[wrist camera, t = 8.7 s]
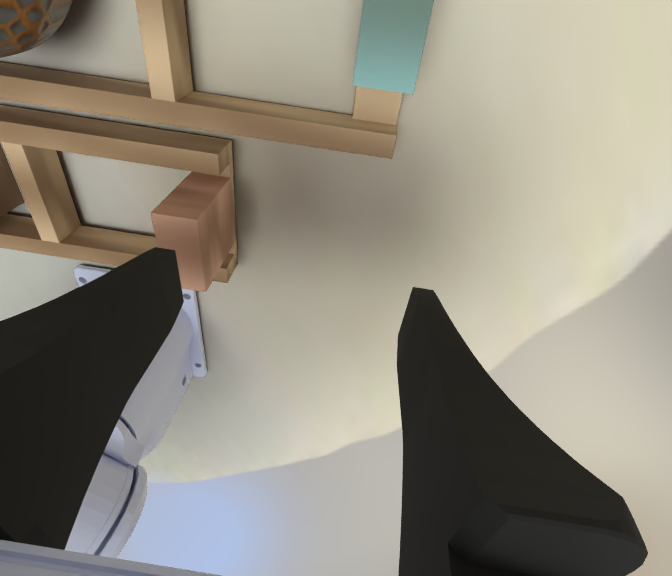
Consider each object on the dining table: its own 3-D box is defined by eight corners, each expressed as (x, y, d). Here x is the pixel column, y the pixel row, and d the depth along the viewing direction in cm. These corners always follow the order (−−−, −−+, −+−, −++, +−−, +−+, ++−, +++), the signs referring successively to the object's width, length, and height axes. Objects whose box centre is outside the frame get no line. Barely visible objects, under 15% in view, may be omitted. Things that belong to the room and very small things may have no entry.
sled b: (237, 263, 24) (208, 318, 20) (-89, 212, 24) (-181, 257, 20) (231, 140, 19) (192, 181, 16) (-174, 78, 20) (-313, 103, 16)
